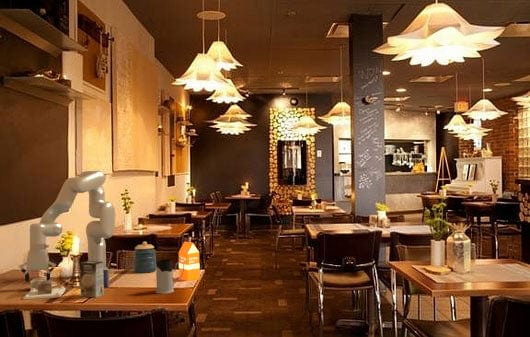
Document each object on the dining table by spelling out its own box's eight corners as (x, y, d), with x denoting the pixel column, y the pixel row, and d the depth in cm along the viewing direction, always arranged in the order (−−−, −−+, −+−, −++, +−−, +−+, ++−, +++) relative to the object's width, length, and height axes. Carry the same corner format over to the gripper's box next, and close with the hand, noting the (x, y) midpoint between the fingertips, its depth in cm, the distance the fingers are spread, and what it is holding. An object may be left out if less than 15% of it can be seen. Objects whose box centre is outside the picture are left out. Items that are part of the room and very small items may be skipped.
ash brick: (46, 287, 275) (46, 277, 275) (43, 290, 267) (42, 280, 267) (34, 288, 274) (34, 278, 274) (30, 291, 266) (30, 281, 266)
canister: (138, 269, 321) (138, 240, 321) (159, 269, 319) (158, 239, 319) (130, 273, 308) (129, 243, 308) (151, 273, 306) (151, 242, 306)
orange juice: (187, 281, 282) (187, 243, 282) (178, 278, 289) (178, 242, 289) (200, 279, 287) (199, 242, 287) (191, 276, 294) (190, 240, 294)
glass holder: (154, 290, 261) (153, 260, 261) (182, 287, 267) (181, 257, 267) (157, 294, 253) (157, 262, 253) (187, 291, 259) (186, 260, 259)
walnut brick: (52, 290, 262) (52, 280, 262) (51, 293, 255) (50, 283, 255) (39, 291, 261) (39, 281, 261) (37, 294, 253) (37, 284, 253)
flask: (110, 286, 274) (110, 265, 274) (106, 287, 271) (106, 266, 271) (96, 285, 277) (95, 264, 277) (92, 286, 275) (91, 265, 275)
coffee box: (79, 296, 252) (79, 262, 252) (88, 293, 258) (87, 260, 258) (96, 297, 249) (95, 263, 249) (104, 294, 255) (103, 261, 255)
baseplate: (65, 290, 267) (65, 286, 267) (59, 297, 251) (59, 293, 251) (31, 292, 264) (31, 288, 264) (23, 299, 248) (23, 295, 248)
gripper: (57, 246, 277) (57, 279, 276) (21, 247, 273) (21, 280, 273) (54, 248, 269) (54, 282, 269) (17, 249, 266) (17, 283, 265)
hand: (37, 281), depth 271 cm, fingers open, 9 cm apart
